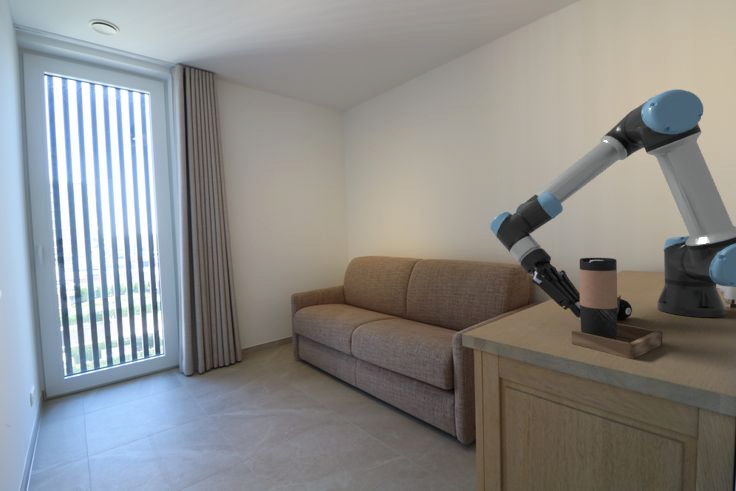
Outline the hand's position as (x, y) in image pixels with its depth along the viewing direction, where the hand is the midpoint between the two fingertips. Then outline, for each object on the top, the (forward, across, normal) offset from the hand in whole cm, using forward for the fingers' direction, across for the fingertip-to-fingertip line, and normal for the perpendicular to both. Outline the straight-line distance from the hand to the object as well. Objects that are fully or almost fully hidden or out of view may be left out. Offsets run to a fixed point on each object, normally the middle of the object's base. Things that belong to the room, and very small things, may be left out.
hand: (593, 326), depth 85 cm
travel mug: (+3, 0, -2) cm, 4 cm away
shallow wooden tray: (+5, 0, +1) cm, 6 cm away
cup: (-2, -18, -6) cm, 19 cm away
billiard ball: (-1, -24, -6) cm, 24 cm away
